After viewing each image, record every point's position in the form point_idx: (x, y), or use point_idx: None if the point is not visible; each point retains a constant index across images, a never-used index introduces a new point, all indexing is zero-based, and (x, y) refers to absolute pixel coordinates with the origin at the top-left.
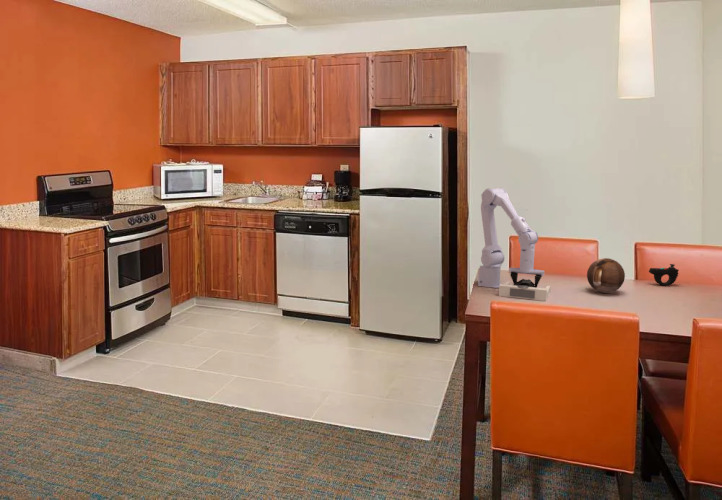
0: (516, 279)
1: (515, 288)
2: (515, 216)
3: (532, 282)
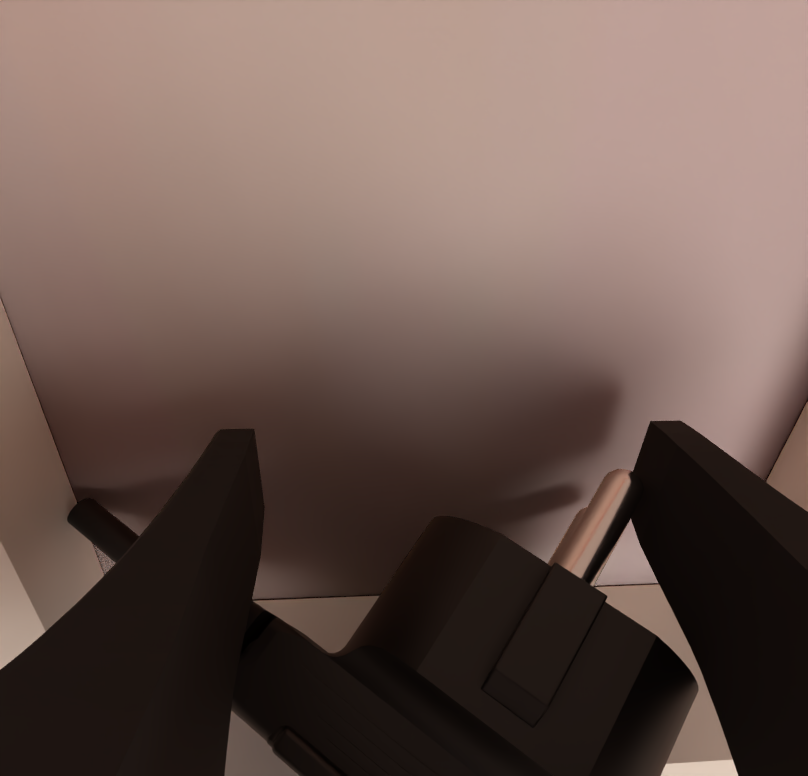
0: (208, 719)
1: None
2: None
3: (662, 770)
